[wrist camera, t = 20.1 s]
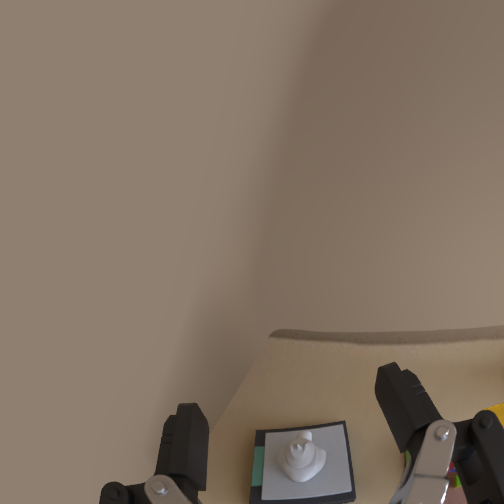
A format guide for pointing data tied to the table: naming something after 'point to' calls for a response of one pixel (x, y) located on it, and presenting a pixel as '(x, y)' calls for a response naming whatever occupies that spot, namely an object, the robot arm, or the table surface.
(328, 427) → the scale
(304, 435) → the white sculpted piece
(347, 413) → the table surface
